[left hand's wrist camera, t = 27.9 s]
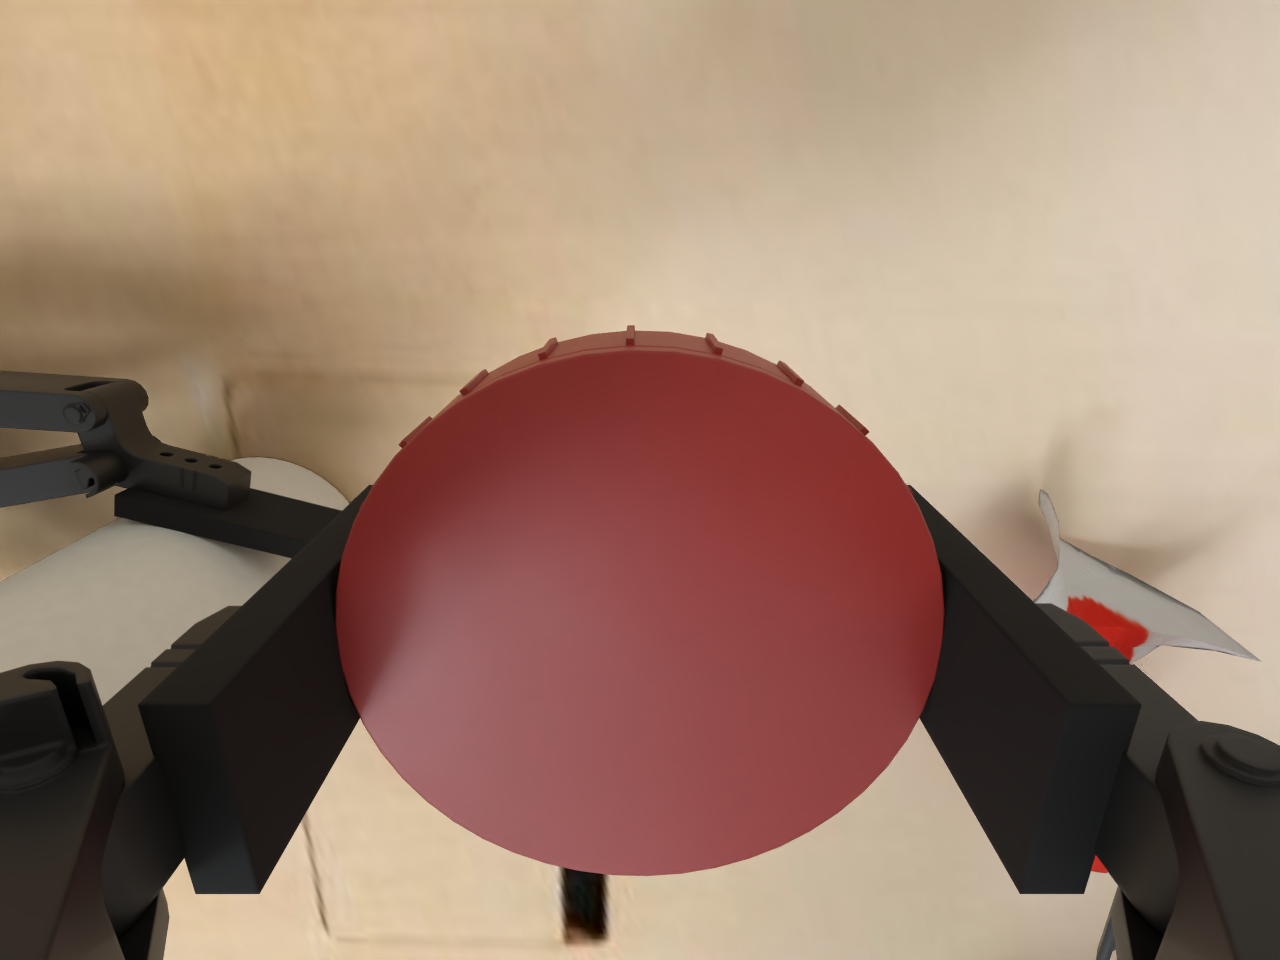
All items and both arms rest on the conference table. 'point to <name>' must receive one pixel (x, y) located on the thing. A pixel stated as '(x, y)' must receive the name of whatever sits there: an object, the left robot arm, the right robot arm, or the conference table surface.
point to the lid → (639, 606)
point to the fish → (1125, 607)
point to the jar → (138, 587)
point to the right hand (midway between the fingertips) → (319, 647)
